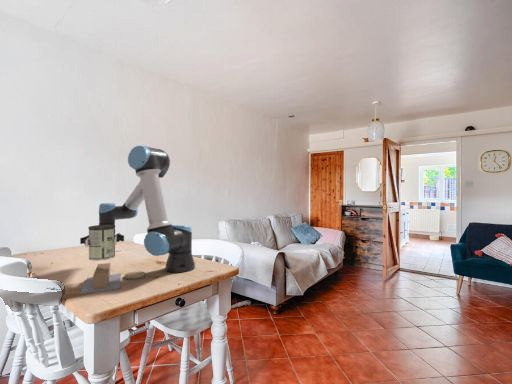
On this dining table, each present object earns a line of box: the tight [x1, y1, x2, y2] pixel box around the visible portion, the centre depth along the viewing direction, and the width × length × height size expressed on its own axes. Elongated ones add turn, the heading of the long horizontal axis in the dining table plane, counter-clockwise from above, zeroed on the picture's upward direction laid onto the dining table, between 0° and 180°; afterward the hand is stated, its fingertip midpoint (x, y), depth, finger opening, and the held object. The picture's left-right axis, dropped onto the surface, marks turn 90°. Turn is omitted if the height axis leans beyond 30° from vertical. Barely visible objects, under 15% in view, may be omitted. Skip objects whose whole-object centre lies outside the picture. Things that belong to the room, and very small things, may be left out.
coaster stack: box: [124, 270, 147, 281], centre depth 129 cm, size 9×9×2 cm
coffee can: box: [88, 224, 116, 262], centre depth 119 cm, size 10×10×14 cm
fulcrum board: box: [79, 262, 122, 295], centre depth 119 cm, size 20×14×7 cm
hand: (101, 242), depth 115 cm, fingers closed on coffee can, 10 cm apart
